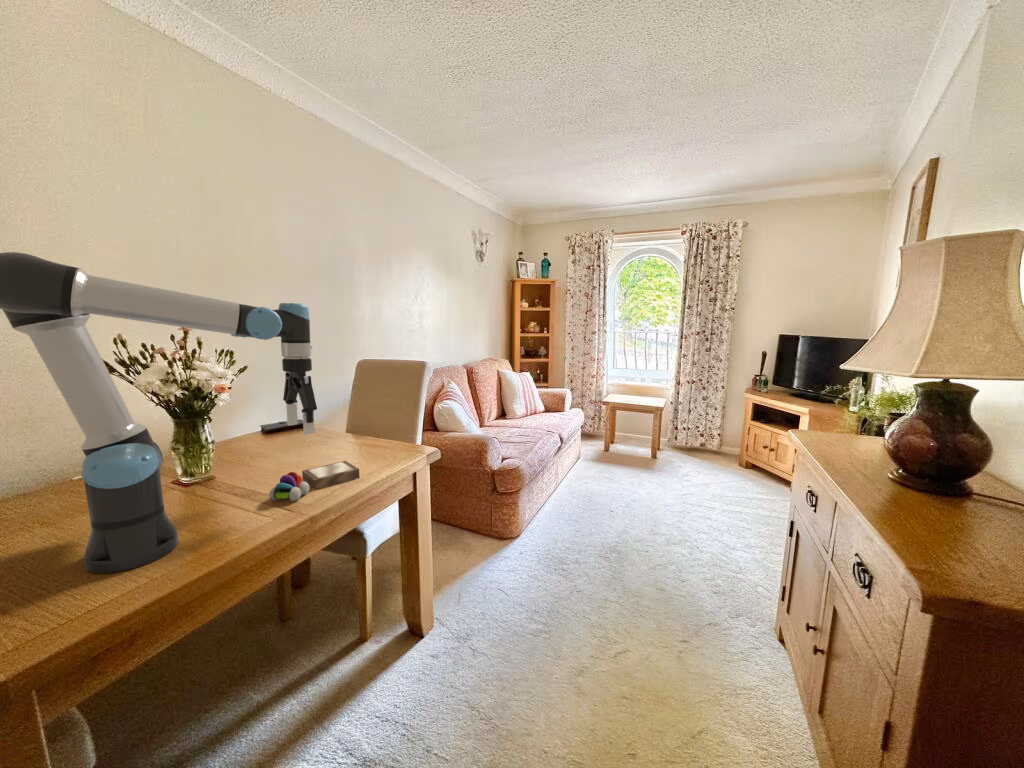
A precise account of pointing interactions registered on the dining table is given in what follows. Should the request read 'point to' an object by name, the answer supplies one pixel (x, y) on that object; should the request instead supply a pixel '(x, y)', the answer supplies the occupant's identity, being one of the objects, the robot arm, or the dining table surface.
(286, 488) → the rainbow pebble stack
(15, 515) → the dining table surface
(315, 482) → the plinth
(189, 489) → the dining table surface
